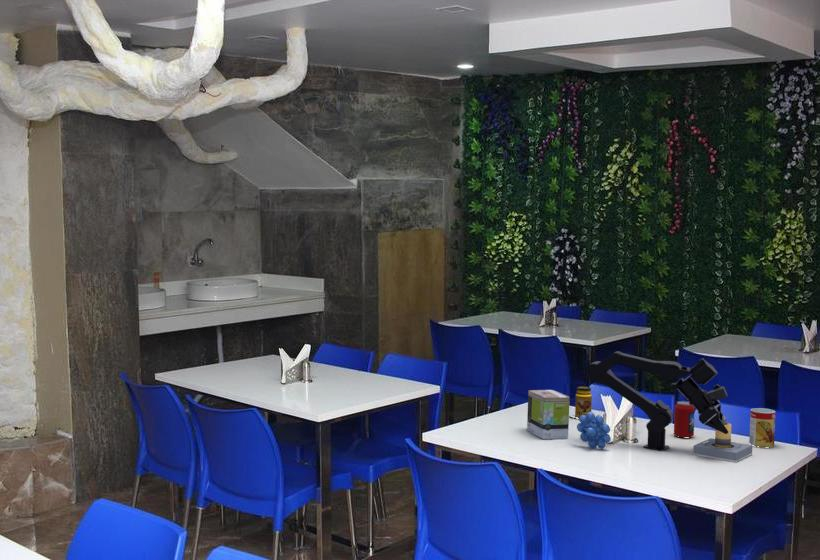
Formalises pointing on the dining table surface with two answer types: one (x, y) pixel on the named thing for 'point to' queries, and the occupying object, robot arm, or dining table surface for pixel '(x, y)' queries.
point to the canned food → (762, 427)
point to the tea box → (548, 414)
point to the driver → (723, 436)
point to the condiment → (583, 401)
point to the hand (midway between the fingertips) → (728, 430)
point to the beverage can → (684, 419)
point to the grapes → (593, 430)
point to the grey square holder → (722, 450)
